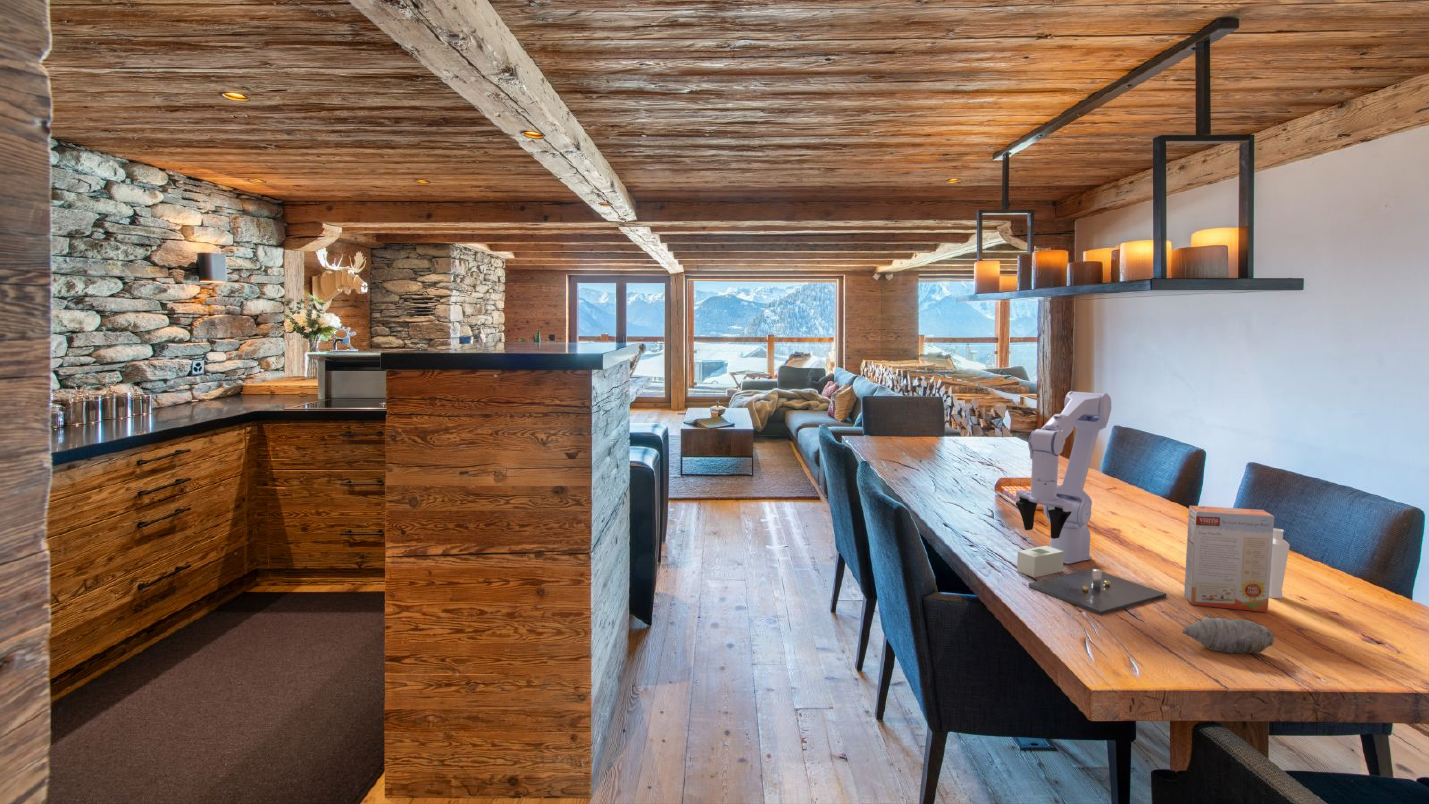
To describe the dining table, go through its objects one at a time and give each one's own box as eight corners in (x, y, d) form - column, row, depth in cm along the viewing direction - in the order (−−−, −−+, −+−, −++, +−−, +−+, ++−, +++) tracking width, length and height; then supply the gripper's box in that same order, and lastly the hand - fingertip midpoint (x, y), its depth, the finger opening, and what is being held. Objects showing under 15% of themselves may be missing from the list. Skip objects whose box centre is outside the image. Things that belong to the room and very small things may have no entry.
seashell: (1174, 623, 137) (1198, 591, 133) (1247, 656, 134) (1273, 625, 131) (1182, 643, 131) (1207, 610, 128) (1259, 678, 128) (1287, 646, 125)
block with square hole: (1045, 564, 178) (1046, 545, 177) (1062, 571, 174) (1063, 551, 173) (1016, 571, 174) (1017, 551, 173) (1034, 577, 169) (1034, 557, 169)
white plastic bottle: (1279, 600, 154) (1285, 534, 153) (1256, 594, 158) (1262, 528, 157) (1290, 597, 156) (1296, 531, 155) (1267, 590, 160) (1272, 526, 159)
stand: (1092, 571, 173) (1093, 551, 172) (1166, 597, 157) (1167, 575, 156) (1028, 586, 163) (1029, 565, 163) (1100, 615, 147) (1101, 591, 147)
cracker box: (1257, 603, 153) (1265, 508, 151) (1268, 614, 148) (1276, 516, 145) (1182, 595, 158) (1188, 503, 156) (1190, 605, 152) (1197, 510, 150)
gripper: (1008, 474, 176) (1005, 528, 177) (1058, 486, 163) (1056, 544, 164) (1028, 472, 179) (1025, 524, 180) (1079, 483, 166) (1076, 540, 167)
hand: (1041, 533), depth 173 cm, fingers open, 7 cm apart
